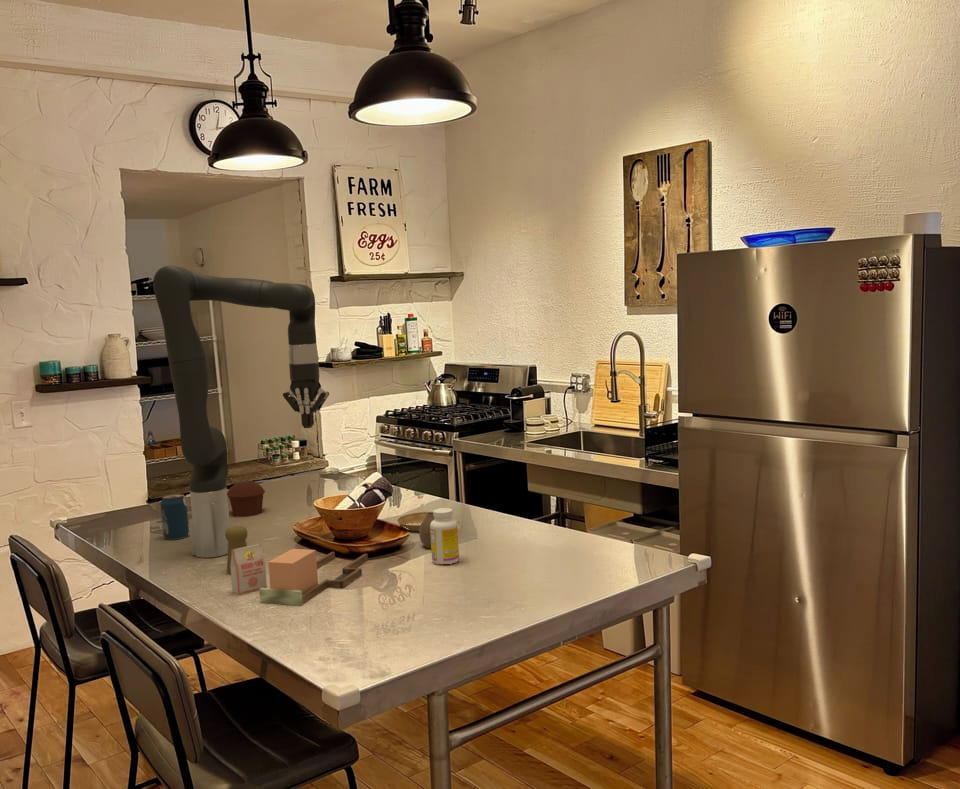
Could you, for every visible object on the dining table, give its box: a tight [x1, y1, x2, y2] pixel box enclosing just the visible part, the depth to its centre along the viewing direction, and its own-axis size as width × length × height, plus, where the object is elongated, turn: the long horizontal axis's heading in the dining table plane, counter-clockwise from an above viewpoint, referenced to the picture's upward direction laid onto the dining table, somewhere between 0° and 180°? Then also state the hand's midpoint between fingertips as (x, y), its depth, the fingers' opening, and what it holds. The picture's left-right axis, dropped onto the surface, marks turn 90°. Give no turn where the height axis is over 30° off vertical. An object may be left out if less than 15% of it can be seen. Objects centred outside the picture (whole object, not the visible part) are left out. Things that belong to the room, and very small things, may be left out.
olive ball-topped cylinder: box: [225, 525, 248, 575], centre depth 211 cm, size 6×6×11 cm
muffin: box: [227, 480, 266, 518], centre depth 271 cm, size 12×11×10 cm
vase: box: [418, 511, 435, 549], centre depth 225 cm, size 7×7×9 cm
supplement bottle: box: [430, 507, 460, 565], centre depth 211 cm, size 7×7×13 cm
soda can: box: [160, 493, 190, 541], centre depth 246 cm, size 7×7×12 cm
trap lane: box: [258, 551, 369, 606], centre depth 202 cm, size 18×33×3 cm, turn 162°
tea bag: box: [230, 543, 268, 596], centre depth 197 cm, size 4×7×10 cm, turn 126°
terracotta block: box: [268, 548, 319, 595], centre depth 192 cm, size 6×10×9 cm, turn 161°
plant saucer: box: [396, 511, 431, 532], centre depth 246 cm, size 15×15×3 cm
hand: (308, 427), depth 226 cm, fingers closed
